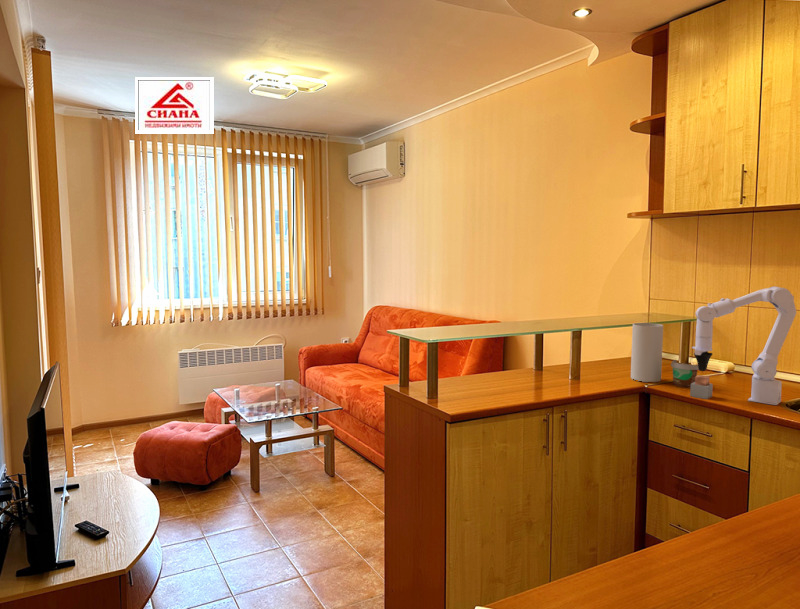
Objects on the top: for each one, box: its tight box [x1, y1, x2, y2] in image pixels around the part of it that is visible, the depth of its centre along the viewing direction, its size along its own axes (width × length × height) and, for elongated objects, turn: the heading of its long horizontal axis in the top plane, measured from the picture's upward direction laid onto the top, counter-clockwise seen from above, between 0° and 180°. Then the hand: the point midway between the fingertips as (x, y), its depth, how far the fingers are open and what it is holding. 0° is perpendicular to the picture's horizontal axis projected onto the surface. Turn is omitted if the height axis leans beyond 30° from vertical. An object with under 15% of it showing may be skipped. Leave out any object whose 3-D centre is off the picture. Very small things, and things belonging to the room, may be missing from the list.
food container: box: [670, 359, 699, 389], centre depth 238 cm, size 12×6×10 cm, turn 21°
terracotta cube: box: [695, 374, 710, 386], centre depth 220 cm, size 4×4×4 cm
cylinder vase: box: [630, 322, 664, 383], centre depth 248 cm, size 12×12×25 cm
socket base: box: [689, 382, 713, 400], centre depth 220 cm, size 6×6×5 cm
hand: (702, 370), depth 219 cm, fingers closed
